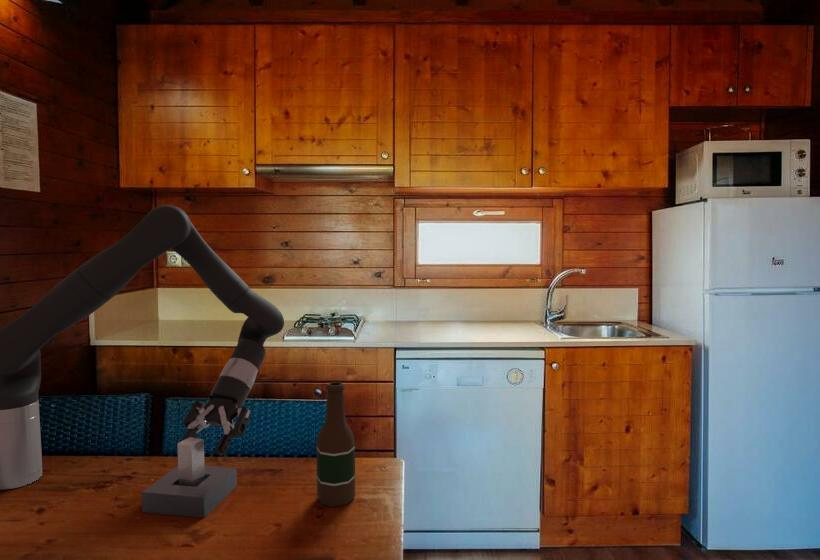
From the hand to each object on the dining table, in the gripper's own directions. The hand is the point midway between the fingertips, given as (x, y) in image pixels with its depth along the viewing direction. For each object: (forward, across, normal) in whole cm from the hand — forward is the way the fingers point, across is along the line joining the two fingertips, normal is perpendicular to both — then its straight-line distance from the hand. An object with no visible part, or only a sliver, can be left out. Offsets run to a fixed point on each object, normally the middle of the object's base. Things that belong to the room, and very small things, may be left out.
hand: (201, 451), depth 112 cm
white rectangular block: (+8, 0, +4) cm, 9 cm away
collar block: (+8, 0, +4) cm, 9 cm away
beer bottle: (+1, +27, +12) cm, 30 cm away
